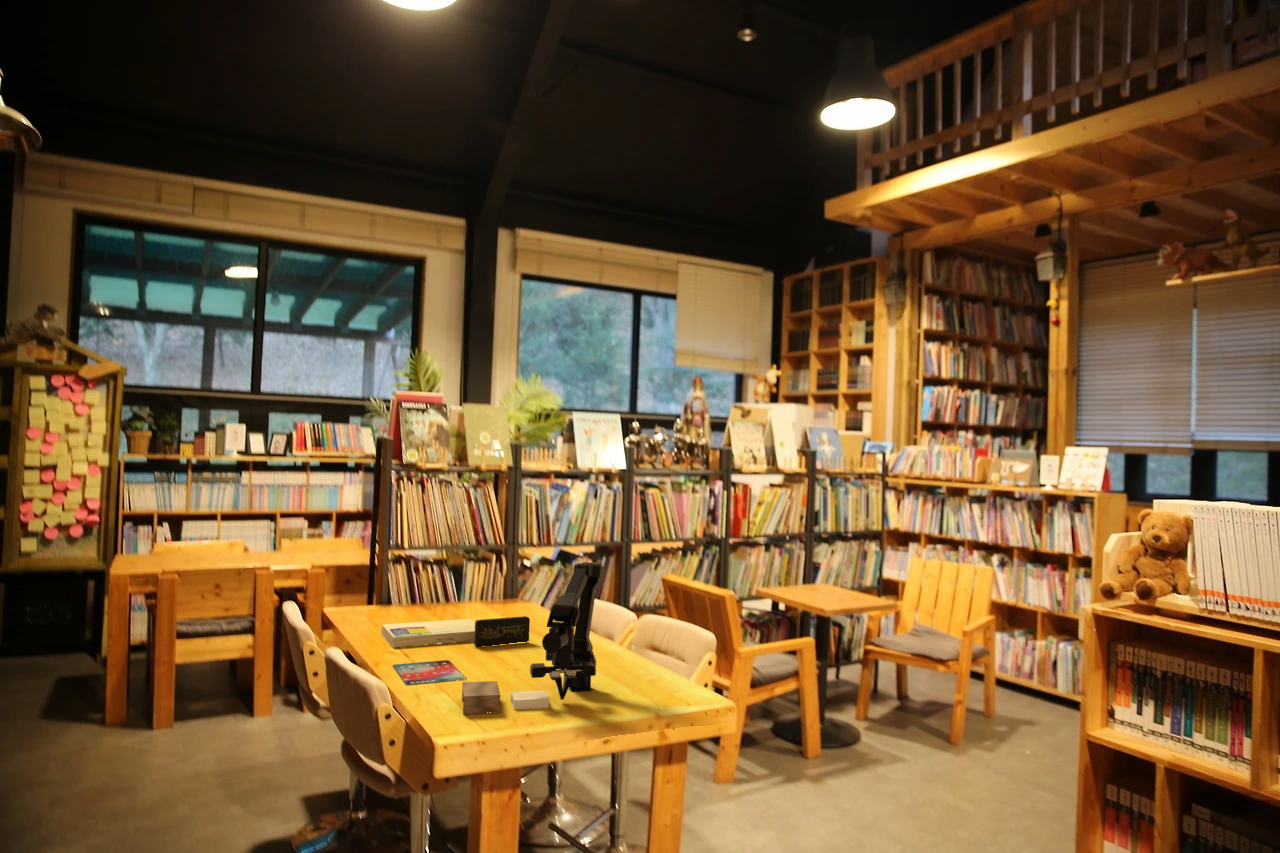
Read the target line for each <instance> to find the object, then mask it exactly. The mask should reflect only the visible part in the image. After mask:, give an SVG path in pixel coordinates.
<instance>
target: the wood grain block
mask: <svg viewBox="0 0 1280 853" xmlns="http://www.w3.org/2000/svg"><path fill="white" fill-rule="evenodd" d="M461 691H462V692H461V701H462V702H463V703H462V704H463V705H462V715H463V714H465V715H473V714H472V713H487V712H488V713H489V712H491V713H489V714H495V713H494V712H500V711H501V691H500V687H499V683H498V681H497V680H495V681H494V680H493V681H492V680H491V681H490V680H488V681H466V682H465V681H463V682H462V690H461Z"/></svg>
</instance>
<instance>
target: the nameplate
mask: <svg viewBox="0 0 1280 853" xmlns="http://www.w3.org/2000/svg"><path fill="white" fill-rule="evenodd" d="M530 620H531V619H530V618H529V617H528V616H525V615H524V616H512V617H499V618H487V619H483V618H482V619H477V620H475V639H474V642H473V643H474V644H473V645H474V646H476V647H475V648H477V647H481V648H483V647H482V646H492V645H500V644H509V643H517V642H527V641H529V642H530V626H531V625H530V622H531V621H530ZM492 647H493V646H492Z"/></svg>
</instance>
